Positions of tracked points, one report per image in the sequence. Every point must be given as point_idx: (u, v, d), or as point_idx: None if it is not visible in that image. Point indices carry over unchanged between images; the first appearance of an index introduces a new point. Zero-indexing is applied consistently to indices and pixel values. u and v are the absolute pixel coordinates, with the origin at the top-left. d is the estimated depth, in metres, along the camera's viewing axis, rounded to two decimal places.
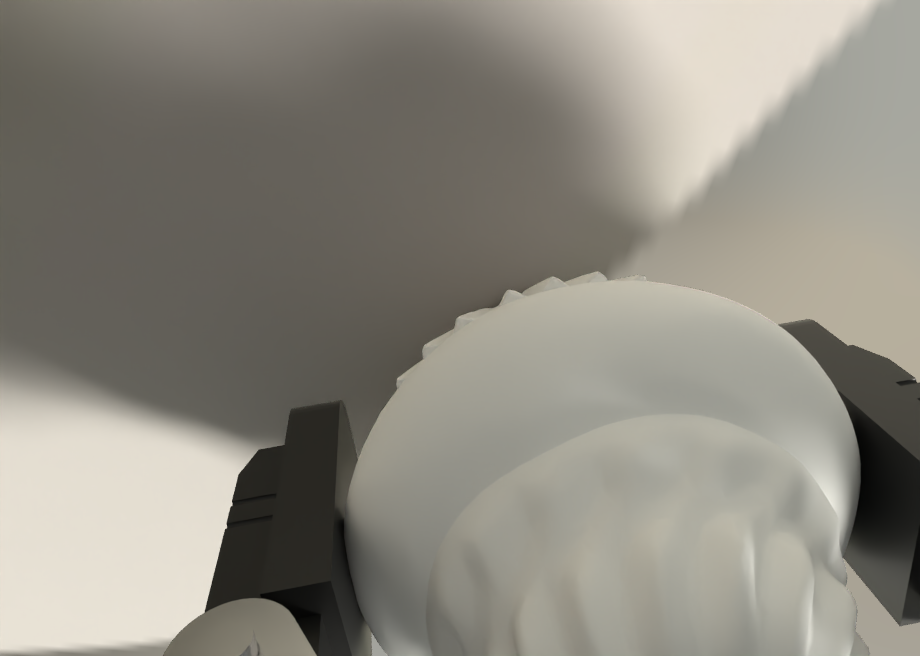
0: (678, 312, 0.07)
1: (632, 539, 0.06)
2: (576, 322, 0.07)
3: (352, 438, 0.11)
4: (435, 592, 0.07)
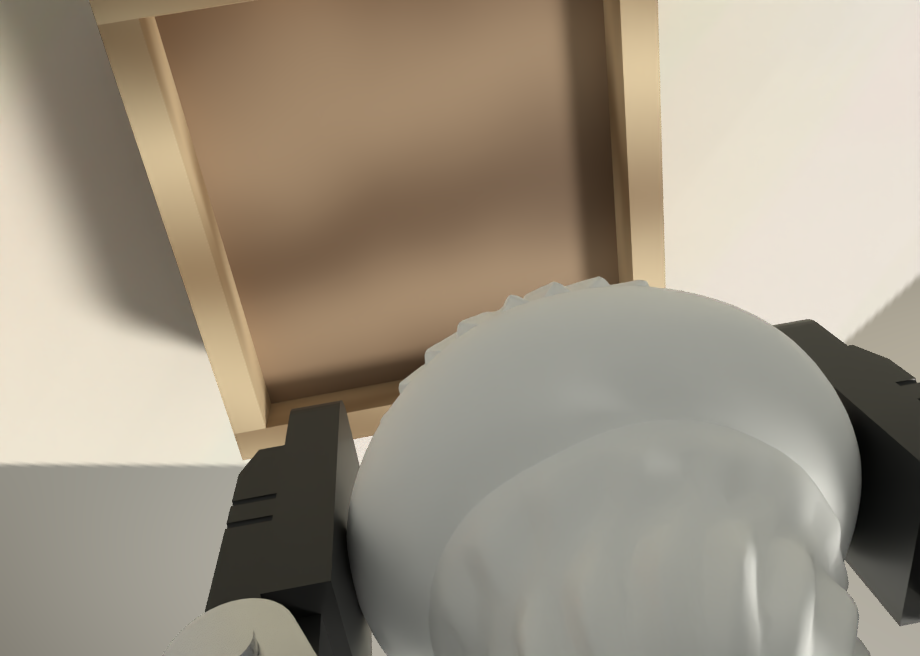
0: (680, 318, 0.07)
1: (635, 545, 0.06)
2: (578, 328, 0.07)
3: (352, 438, 0.11)
4: (438, 597, 0.07)
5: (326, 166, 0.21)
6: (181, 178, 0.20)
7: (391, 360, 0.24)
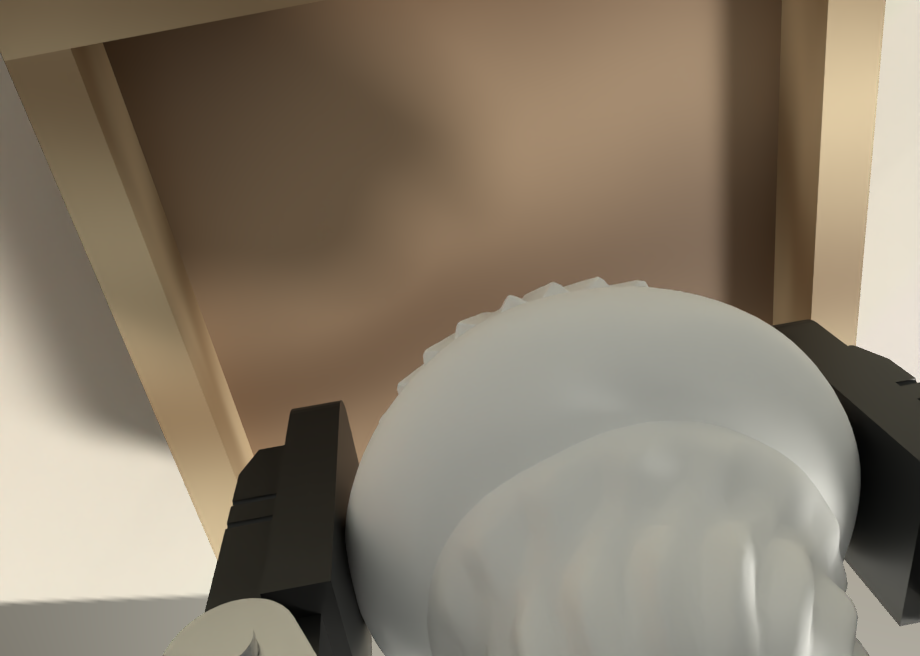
0: (678, 319, 0.07)
1: (634, 545, 0.06)
2: (577, 328, 0.07)
3: (352, 438, 0.11)
4: (436, 598, 0.07)
5: (366, 250, 0.15)
6: (152, 288, 0.13)
7: None
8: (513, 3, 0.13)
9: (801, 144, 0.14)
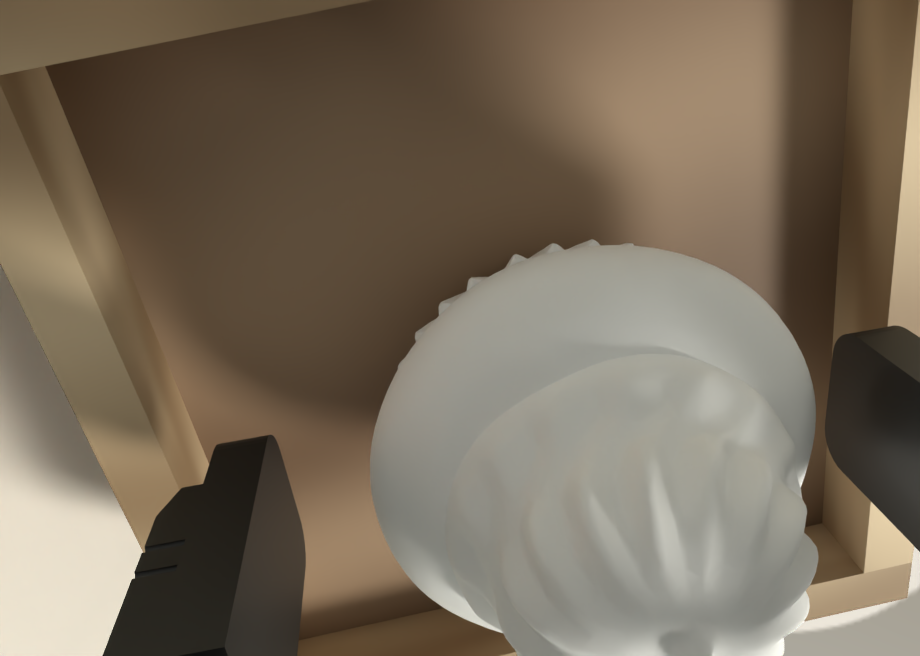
0: (663, 270, 0.08)
1: (624, 451, 0.07)
2: (576, 276, 0.08)
3: (286, 473, 0.10)
4: (455, 506, 0.08)
5: (363, 301, 0.13)
6: (107, 356, 0.11)
7: None
8: (534, 12, 0.11)
9: (875, 175, 0.12)
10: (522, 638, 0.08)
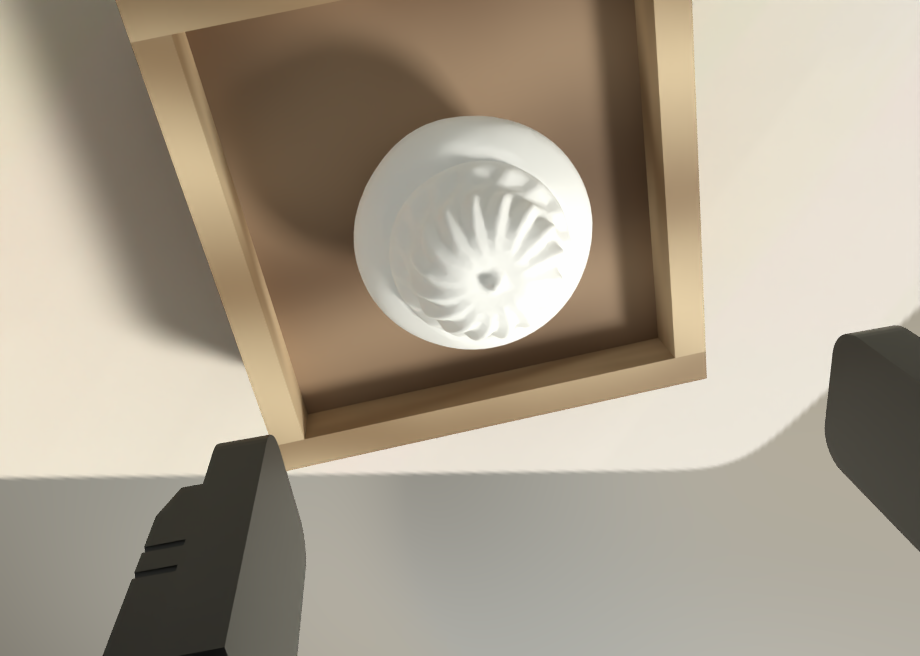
0: (497, 124, 0.17)
1: (466, 196, 0.16)
2: (453, 125, 0.17)
3: (286, 473, 0.10)
4: (392, 237, 0.17)
5: (358, 175, 0.21)
6: (216, 193, 0.19)
7: (426, 367, 0.24)
8: (453, 3, 0.20)
9: (651, 97, 0.20)
10: (420, 287, 0.16)
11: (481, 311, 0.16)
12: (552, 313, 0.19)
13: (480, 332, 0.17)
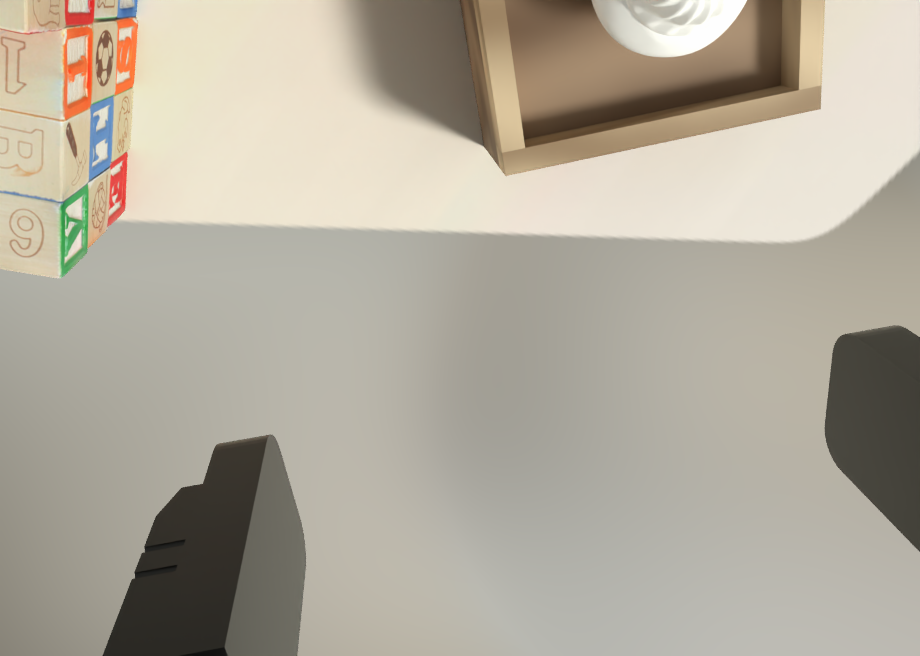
0: None
1: None
2: None
3: (286, 473, 0.10)
4: None
5: None
6: None
7: (609, 103, 0.32)
8: None
9: None
10: None
11: None
12: (728, 21, 0.27)
13: (690, 12, 0.25)
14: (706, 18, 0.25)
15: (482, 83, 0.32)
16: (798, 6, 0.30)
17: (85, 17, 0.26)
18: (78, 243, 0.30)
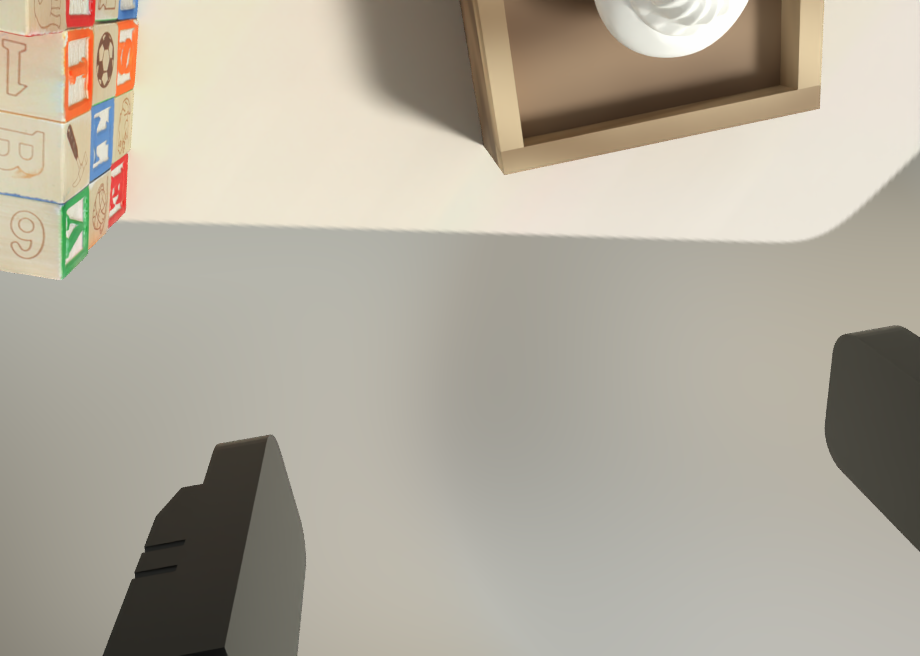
0: None
1: None
2: None
3: (286, 473, 0.10)
4: None
5: None
6: None
7: (608, 102, 0.32)
8: None
9: None
10: None
11: None
12: (733, 19, 0.27)
13: (697, 12, 0.25)
14: (713, 17, 0.25)
15: (481, 82, 0.32)
16: (797, 5, 0.30)
17: (86, 19, 0.26)
18: (79, 244, 0.30)
